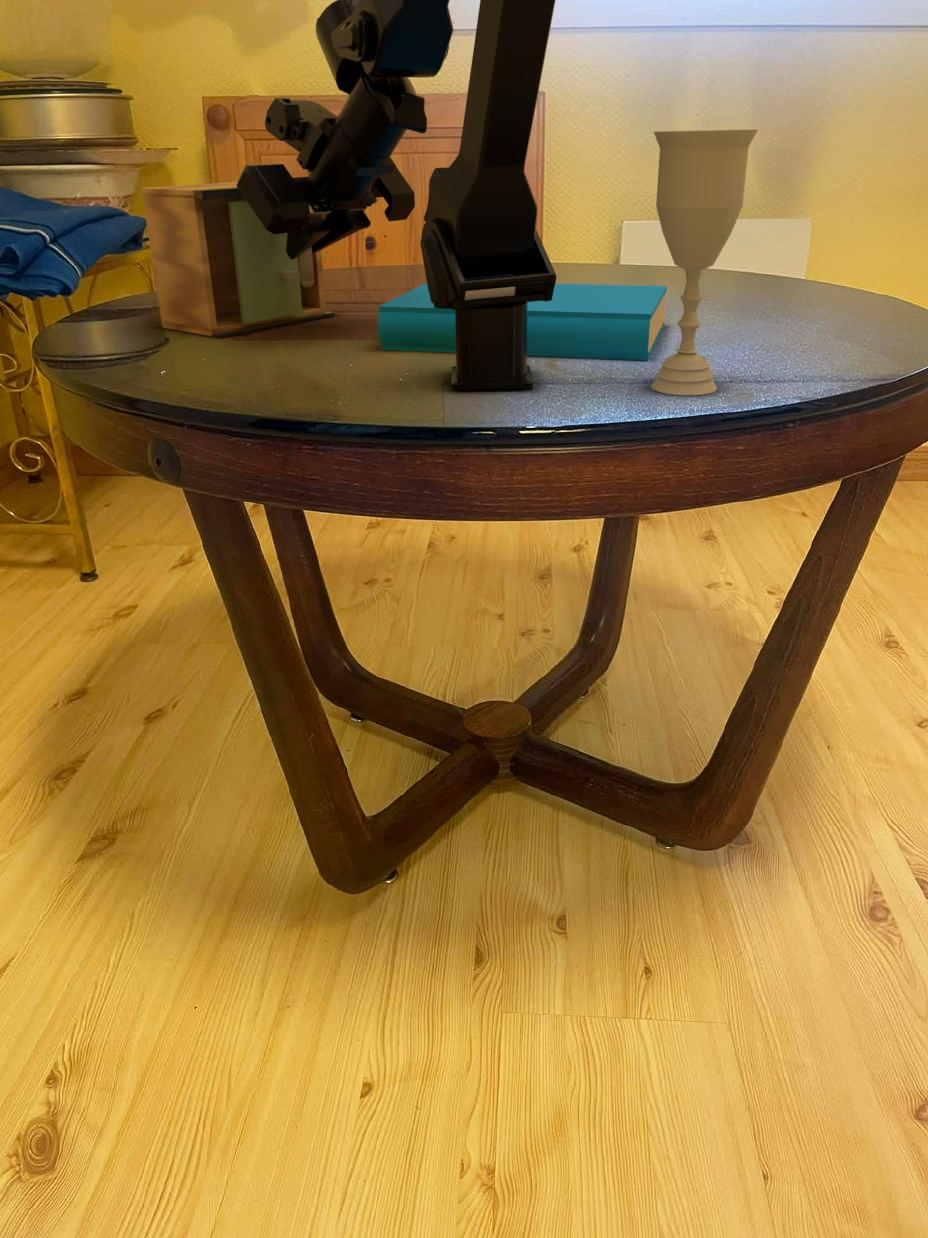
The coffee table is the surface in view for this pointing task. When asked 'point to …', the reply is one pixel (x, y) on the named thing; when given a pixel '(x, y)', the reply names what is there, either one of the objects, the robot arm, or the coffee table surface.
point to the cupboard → (207, 262)
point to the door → (266, 268)
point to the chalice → (697, 230)
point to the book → (543, 322)
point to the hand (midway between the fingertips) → (296, 254)
